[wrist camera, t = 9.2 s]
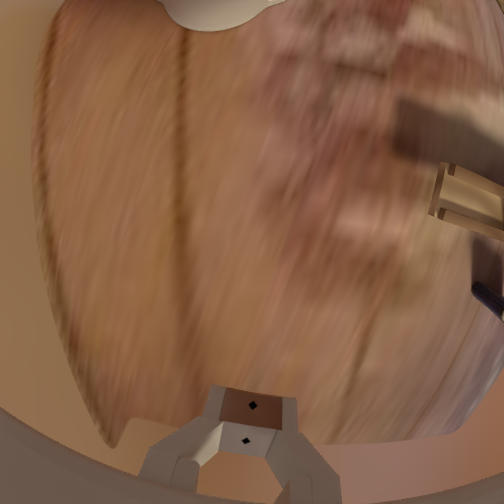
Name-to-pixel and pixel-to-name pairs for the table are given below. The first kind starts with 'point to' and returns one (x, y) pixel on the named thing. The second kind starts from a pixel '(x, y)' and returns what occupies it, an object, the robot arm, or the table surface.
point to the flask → (489, 299)
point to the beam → (468, 201)
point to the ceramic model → (501, 4)
